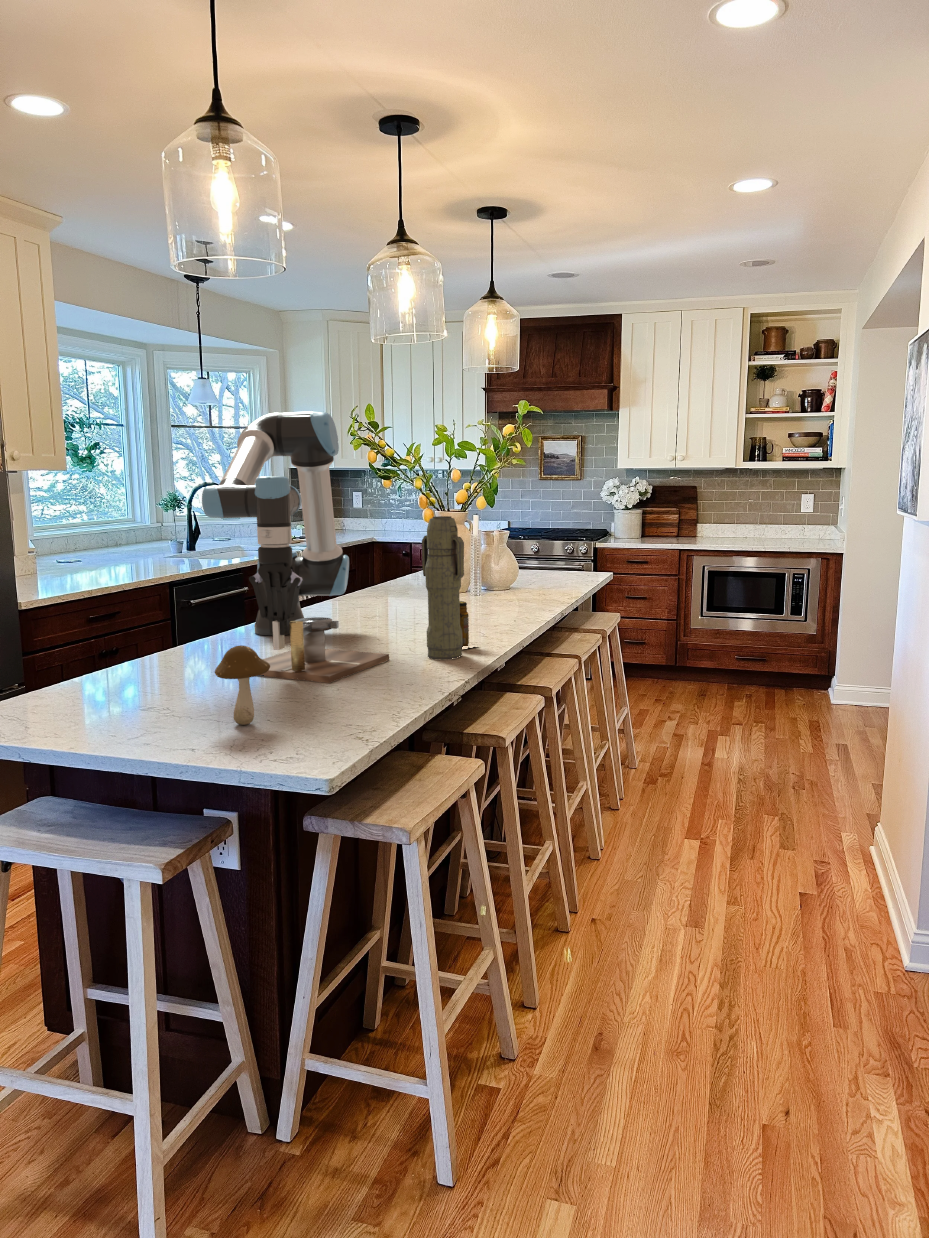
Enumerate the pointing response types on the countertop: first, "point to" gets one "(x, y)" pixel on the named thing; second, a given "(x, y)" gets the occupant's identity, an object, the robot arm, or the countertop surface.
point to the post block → (322, 661)
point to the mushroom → (242, 678)
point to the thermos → (443, 586)
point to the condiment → (464, 623)
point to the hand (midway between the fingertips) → (279, 648)
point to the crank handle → (302, 629)
